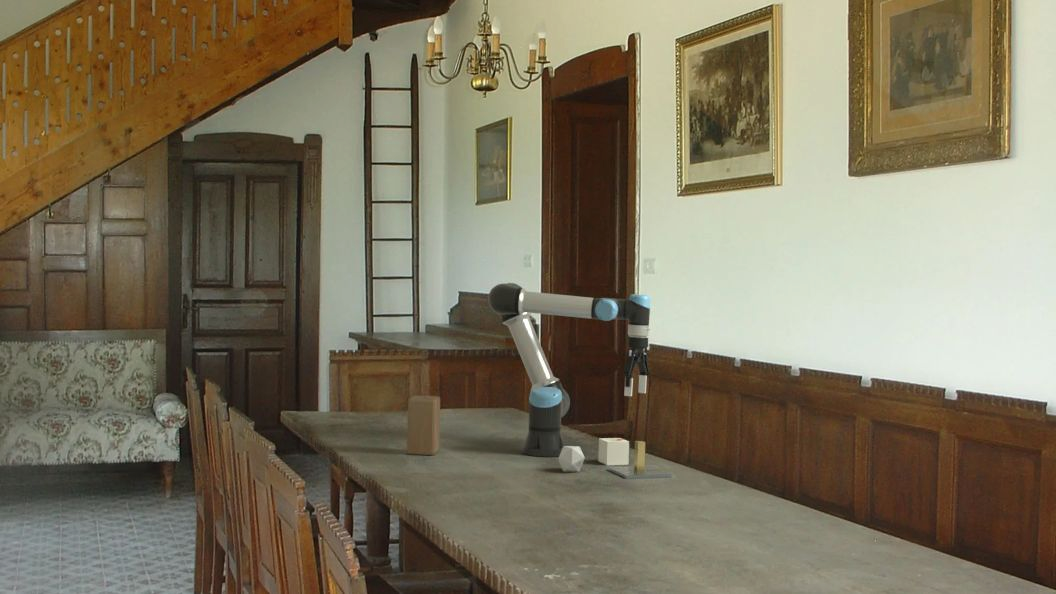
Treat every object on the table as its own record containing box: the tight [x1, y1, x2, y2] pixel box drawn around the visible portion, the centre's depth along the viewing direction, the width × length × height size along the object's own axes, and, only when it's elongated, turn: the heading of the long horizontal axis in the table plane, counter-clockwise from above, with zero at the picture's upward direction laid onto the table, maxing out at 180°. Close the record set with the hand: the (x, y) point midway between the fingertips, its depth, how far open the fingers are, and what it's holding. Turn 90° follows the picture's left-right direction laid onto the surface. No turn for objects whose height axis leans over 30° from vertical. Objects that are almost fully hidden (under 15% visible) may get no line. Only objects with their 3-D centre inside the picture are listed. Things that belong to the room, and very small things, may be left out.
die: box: [557, 445, 585, 473], centre depth 364 cm, size 8×9×10 cm
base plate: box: [607, 440, 673, 480], centre depth 363 cm, size 16×16×10 cm
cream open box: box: [597, 437, 630, 466], centre depth 382 cm, size 8×8×8 cm
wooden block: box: [406, 394, 441, 456], centre depth 390 cm, size 10×10×20 cm
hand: (635, 394), depth 403 cm, fingers open, 13 cm apart
